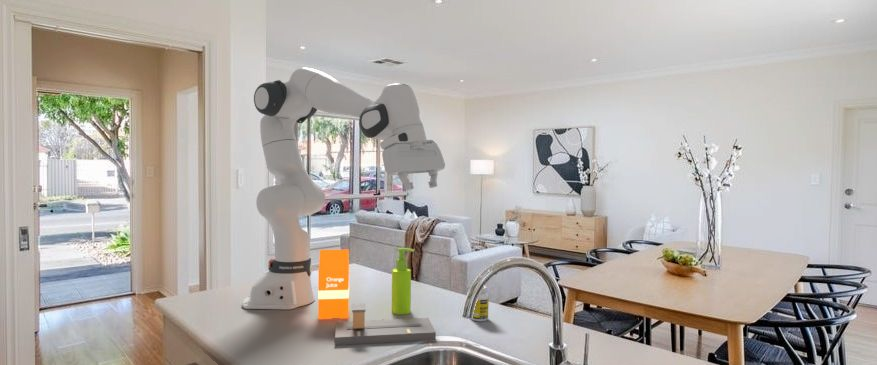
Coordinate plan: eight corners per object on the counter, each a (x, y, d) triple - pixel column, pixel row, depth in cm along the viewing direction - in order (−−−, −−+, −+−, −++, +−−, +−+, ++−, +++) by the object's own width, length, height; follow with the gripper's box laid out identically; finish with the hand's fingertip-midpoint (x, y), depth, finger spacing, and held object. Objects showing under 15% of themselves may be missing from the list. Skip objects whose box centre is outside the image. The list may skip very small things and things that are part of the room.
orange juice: (348, 318, 144) (348, 251, 143) (317, 319, 142) (318, 252, 142) (349, 310, 151) (349, 247, 151) (320, 311, 150) (320, 247, 149)
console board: (334, 345, 123) (335, 336, 122) (336, 329, 134) (336, 321, 134) (435, 339, 127) (435, 331, 127) (428, 324, 139) (428, 317, 139)
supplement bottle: (480, 323, 141) (481, 290, 141) (466, 318, 145) (467, 286, 144) (491, 318, 145) (492, 286, 145) (477, 314, 149) (478, 283, 148)
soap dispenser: (410, 315, 147) (411, 250, 146) (389, 313, 149) (389, 249, 148) (415, 309, 153) (416, 247, 152) (394, 308, 154) (395, 246, 153)
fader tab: (352, 330, 126) (352, 310, 126) (352, 323, 132) (352, 304, 132) (365, 329, 127) (365, 309, 127) (364, 323, 132) (364, 303, 132)
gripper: (427, 143, 142) (439, 188, 140) (374, 143, 126) (386, 194, 125) (443, 136, 138) (455, 182, 136) (390, 135, 122) (403, 188, 120)
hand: (422, 188), depth 130 cm, fingers open, 8 cm apart
